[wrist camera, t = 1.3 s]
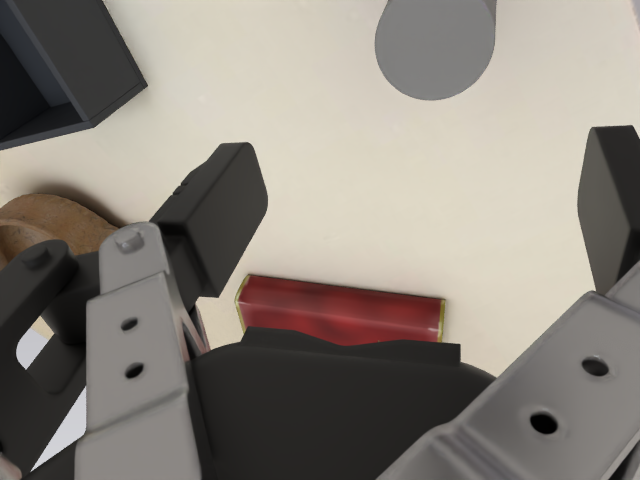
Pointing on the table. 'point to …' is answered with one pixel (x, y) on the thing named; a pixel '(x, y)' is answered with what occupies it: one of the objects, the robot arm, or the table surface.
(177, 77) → the table surface
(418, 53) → the container
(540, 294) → the table surface
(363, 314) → the hardcover book
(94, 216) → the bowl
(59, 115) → the bin
